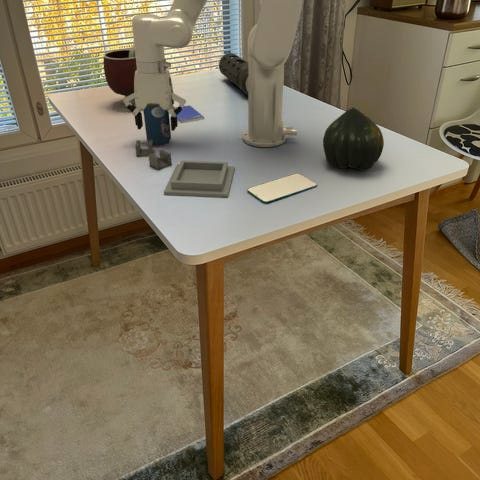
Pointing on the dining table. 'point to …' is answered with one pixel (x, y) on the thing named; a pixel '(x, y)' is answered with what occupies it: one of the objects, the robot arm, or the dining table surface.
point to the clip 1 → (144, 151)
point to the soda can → (157, 125)
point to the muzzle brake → (235, 70)
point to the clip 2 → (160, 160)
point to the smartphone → (281, 188)
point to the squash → (353, 141)
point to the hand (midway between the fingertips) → (157, 128)
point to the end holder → (200, 179)
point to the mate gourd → (121, 74)
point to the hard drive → (189, 115)
